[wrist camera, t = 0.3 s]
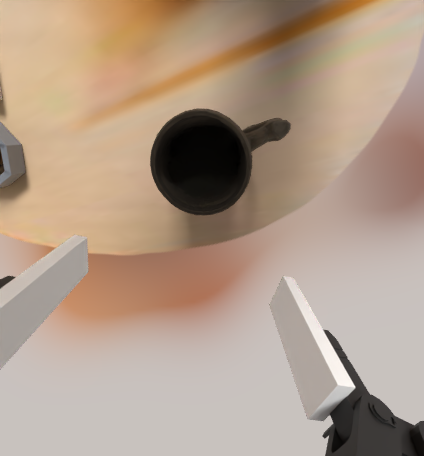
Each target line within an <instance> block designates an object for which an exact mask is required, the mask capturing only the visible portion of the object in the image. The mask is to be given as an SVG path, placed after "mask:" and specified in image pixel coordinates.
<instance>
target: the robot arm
mask: <svg viewBox="0 0 424 456" xmlns="http://www.w3.org/2000/svg"><path fill="white" fill-rule="evenodd" d="M87 273H88V249H87V237H84V236H79V235H73V236H72V237H71V238H69V239H68V240H66V241H65V242H64V243H62V244H61V245H60V246H58V247H57V248H55V249H54V250H53V251H51V252H50V253H49V254H47V255H46V256H44V257H43V258H42V259H41V260H39V261H38V262H36V263H35V264H34V265H32V266H31V267H29V268H28V269H27V270H26V271H24V272H23V273H21V274H20V275H19V276H17V277H13V276H7V277H5V278H3V279H0V369H1V368H2V367H3V366H4V365H5V364H6V362H7V361H8V360H9V359H10V358H11V357H12V356H13V355H14V354H15V353H16V352H17V350H18V349H19V348H20V347H21V346H22V345H23V344H24V343H25V341H26V340H27V339H28V338H29V337H30V336H31V335H32V334H33V333H34V332H35V330H36V329H37V328H38V327H39V326H40V325H41V324H42V323H43V322H44V320H45V319H46V318H47V317H48V316H49V315H50V314H51V313H52V312H53V310H54V309H55V308H56V307H57V306H58V305H59V304H60V303H61V302H62V300H63V299H64V298H65V297H66V296H67V295H68V294H69V293H70V292H71V290H72V289H73V288H74V287H75V286H76V285H77V284H78V283H79V282H80V280H81V279H82V278H83V277H84V276H85V275H86V274H87ZM269 305H270V308H271V311H272V314H273V317H274V320H275V323H276V326H277V329H278V332H279V335H280V338H281V341H282V344H283V347H284V350H285V353H286V356H287V359H288V362H289V365H290V368H291V371H292V374H293V377H294V380H295V383H296V386H297V389H298V392H299V395H300V398H301V401H302V404H303V407H304V410H305V413H306V416H307V418H308V419H310V420H318V421H324V420H325V419H326V418H327V417H328V416H329V415H330V416H331V418H332V420H333V425H331V427H329V428H328V429H327V430H326V431H325V432H324V434H323V437H324V438H326V437H327V436H328V435H329V439H328V444H327V450H326V455H325V456H424V421H420V422H419V423H417V424H416V425H415V426H414V425H412V424H410V423H408V422H406V421H404V420H402V419H400V418H398V417H396V416H394V415H393V413H392V412H391V410H390V409H389V408H388V407H387V406H386V405H385V404H384V403H383V402H382V401H381V400H380V399H378V398H376V397H375V396H373V395H370V394H369V392H368V391H367V389H366V387H365V386H364V384H363V382H362V381H361V379H360V377H359V376H358V374H357V372H356V371H355V369H354V368H353V366H352V364H351V363H350V361H349V360H348V359H347V356H346V354H345V353H344V352H343V351H342V350H343V349H342V348H341V346H340V344H339V343H338V341H337V340H336V338H335V337H334V336H333V335H332V334H331V333H330V332H329V331H328V330H323V329H322V327H321V326H320V324H319V322H318V320H317V319H316V317H315V315H314V313H313V312H312V310H311V308H310V306H309V305H308V303H307V301H306V299H305V297H304V296H303V294H302V292H301V290H300V289H299V287H298V285H297V283H296V281H295V280H294V278H291V277H286V276H283V277H282V279H281V282H280V284H279V286H278V288H277V290H276V292H275V294H274V296H273V298H272V300H271V302H270V304H269Z"/></svg>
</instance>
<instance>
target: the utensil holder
mask: <svg viewBox="0 0 424 456" xmlns="http://www.w3.org/2000/svg"><path fill="white" fill-rule="evenodd" d="M2 164H3V160H2V154H1V149H0V166H1V165H2Z"/></svg>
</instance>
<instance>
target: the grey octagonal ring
mask: <svg viewBox="0 0 424 456" xmlns="http://www.w3.org/2000/svg"><path fill="white" fill-rule="evenodd" d="M0 149H1V154H2V160H3V165H4V170H5V172H3V173H2V174H1V175H0V188H2V187H6V186H9V185H10V184H12V183H13V182H14V181H15V180H17V179H18V178H19V177H20V176H22V175H23V174H24V173H25V172H26V171H25V164H24V157H23V150H22V144H21V143H20V142H19V141H18V140H17V139H16V138H15V137H14V136H13V135H12V134H11V133H10V131H9V130H8V129H7V128H6V127H5V126H4V125H3V124H2V123H1V122H0Z"/></svg>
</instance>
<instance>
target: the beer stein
mask: <svg viewBox="0 0 424 456" xmlns="http://www.w3.org/2000/svg"><path fill="white" fill-rule="evenodd" d="M289 130H290V123H289V122H288V121H287V120H282V119H280V118H274V119H270V120H267V121H265V122H262V123H259V124H257V125H252V126H250V127H248V128H246V129H244V130H243V131H242V130H241V129H240V127H239V126H238V125H237V124H236V123H234V122H233V121H232V120H231V119H230V118H228V117H227V116H225V115H223V114H221V113H219V112H217V111H213V110H209V109H193V110H188V111H185V112H183V113H181V114H179V115H177V116H175V117H173V118H172V119H171V120H169V121H168V122H167V123H166V124H165V125H164V126H163V128H162V129H161V130H160V132H159V133H158V134H157V137H156V139H155V141H154V144H153V147H152V150H151V158H150V166H151V171H152V176H153V179H154V181H155V183H156V186H157V188H158V190H159V191H160V192H161V193H162V195H163V196H164V197H165V198H166V199H167V200H168V201H169V202H170V203H171V204H172V205H174V206H175V207H177V208H179V209H180V210H182V211H184V212H187V213H190V214H195V215H212V214H216V213H219V212H222V211H224V210H226V209H228V208H229V207H230V206H232V205H233V204H234V203H235V202H236V201H237V200H238V199H239V198H240V197H241V195H242V194H243V193H244V191H245V189H246V187H247V185H248V183H249V179H250V176H251V169H252V155H251V152H252V151H253V150H255V149H256V148H258V147H260V146H261V145H263V144H265V143H266V142H270V141H278V140H280V139H282V138H283V137H285V136H286V134H287V133H288V132H289Z"/></svg>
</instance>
